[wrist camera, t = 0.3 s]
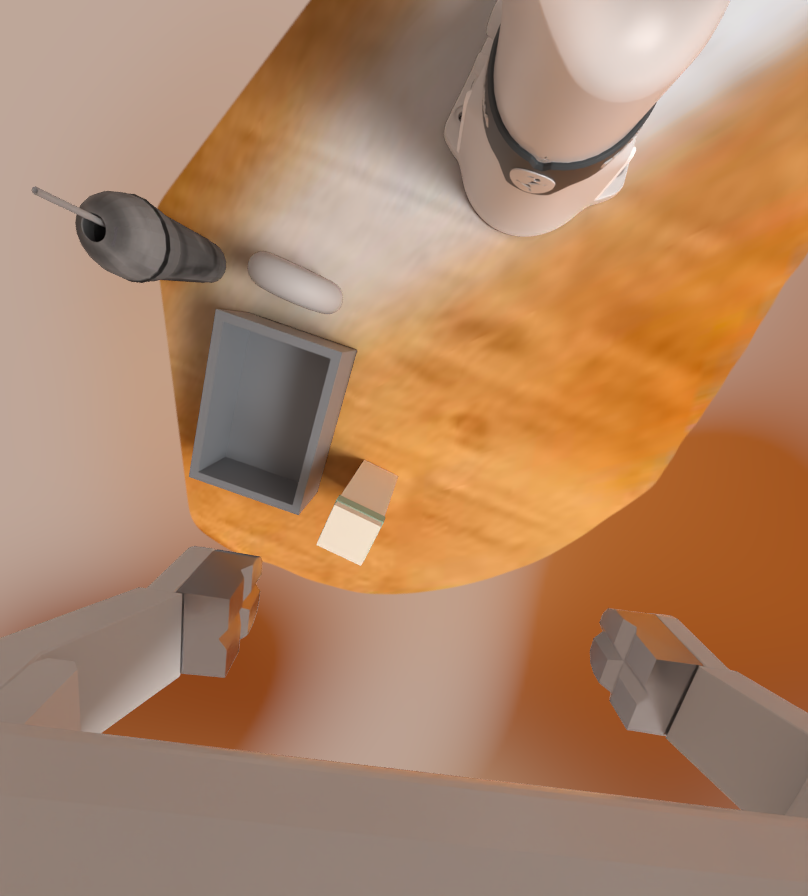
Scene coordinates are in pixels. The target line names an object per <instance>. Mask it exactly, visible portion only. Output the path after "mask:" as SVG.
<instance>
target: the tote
mask: <svg viewBox="0 0 808 896" xmlns="http://www.w3.org/2000/svg"><path fill="white" fill-rule="evenodd" d="M356 353H357V350H356V349H353V348H350V347H347V346H344V345H341V344H338V343H336V342H333V341H330V340H327V339H324V338H321V337H318V336H315V335H312V334H310V333H307V332H304V331H301V330H298V329H295V328H292V327H289V326H287V325H284V324H281V323H278V322H275V321H272V320H269V319H266V318H263V317H261V316H258V315H255V314H252V313H249V312H240V311H231V310H222V309H216V312H215V318H214V324H213V330H212V337H211V343H210V349H209V355H208V361H207V368H206V374H205V380H204V386H203V393H202V399H201V405H200V411H199V417H198V424H197V430H196V436H195V442H194V449H193V455H192V461H191V467H190V473H189V477H191V478H194V479H197V480H200V481H203V482H205V483H208V484H211V485H214V486H217V487H220V488H223V489H225V490H228V491H231V492H234V493H237V494H240V495H242V496H245V497H248V498H251V499H254V500H257V501H260V502H262V503H265V504H268V505H271V506H274V507H277V508H280V509H282V510H285V511H288V512H291V513H294V514H297V515H299V514H300V513H301V512H302V510H303V509H304V508H305V507H306V505H307V504H308V503H309V502H310V501H311V499H312V498H313V497H314V496H315V494H316V493H317V492H318V488H319V484H320V481H321V477H322V474H323V470H324V467H325V463H326V459H327V456H328V452H329V449H330V445H331V442H332V438H333V435H334V431H335V427H336V424H337V420H338V417H339V413H340V410H341V406H342V402H343V399H344V395H345V392H346V388H347V385H348V381H349V378H350V374H351V370H352V367H353V363H354V360H355V356H356Z"/></svg>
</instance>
